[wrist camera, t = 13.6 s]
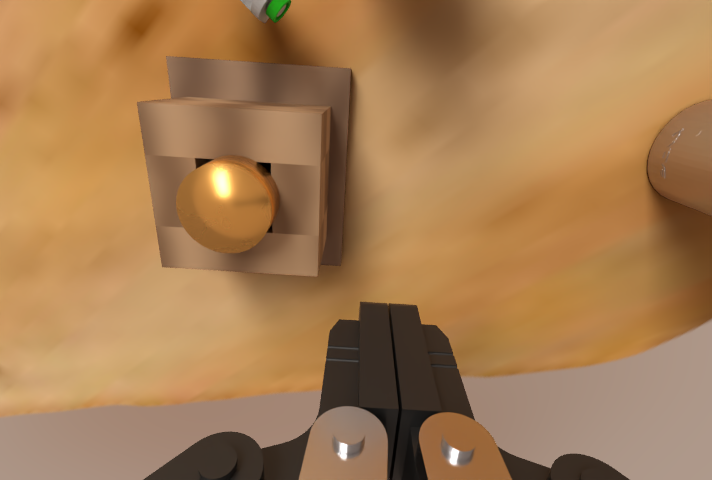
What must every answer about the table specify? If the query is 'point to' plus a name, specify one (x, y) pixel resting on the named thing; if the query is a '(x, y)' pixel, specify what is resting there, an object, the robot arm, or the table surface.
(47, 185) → the table surface
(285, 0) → the mechanical component
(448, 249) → the table surface
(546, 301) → the table surface
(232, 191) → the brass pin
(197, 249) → the hitch block
